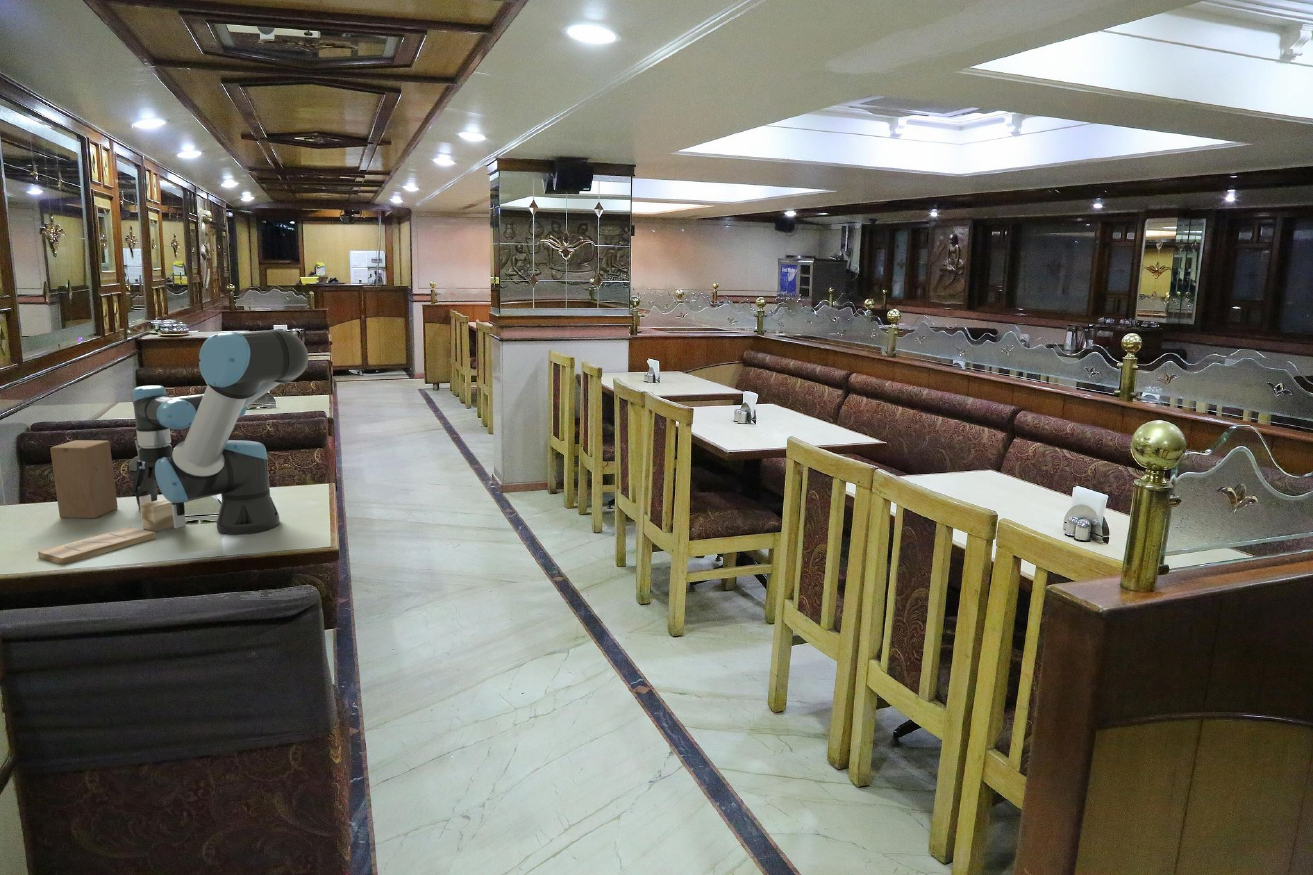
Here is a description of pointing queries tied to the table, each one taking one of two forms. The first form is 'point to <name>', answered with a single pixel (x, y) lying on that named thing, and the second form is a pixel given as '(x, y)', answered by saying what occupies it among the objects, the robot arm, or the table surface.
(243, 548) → the table surface
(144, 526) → the block
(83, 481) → the wooden block
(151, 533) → the board
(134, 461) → the beverage cup
